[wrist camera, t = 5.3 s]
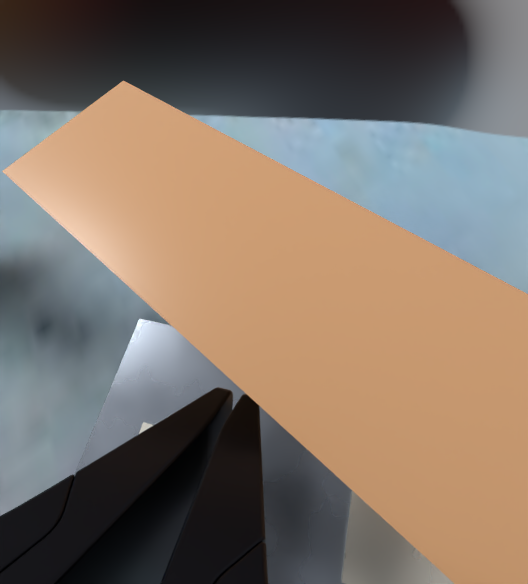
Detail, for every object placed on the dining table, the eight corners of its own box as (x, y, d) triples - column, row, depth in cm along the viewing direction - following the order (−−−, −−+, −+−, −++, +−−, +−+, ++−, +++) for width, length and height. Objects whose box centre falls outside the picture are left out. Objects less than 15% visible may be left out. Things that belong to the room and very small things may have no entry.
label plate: (499, 400, 13) (516, 397, 12) (512, 732, 10) (539, 772, 8) (148, 324, 17) (137, 317, 16) (59, 545, 13) (36, 556, 12)
